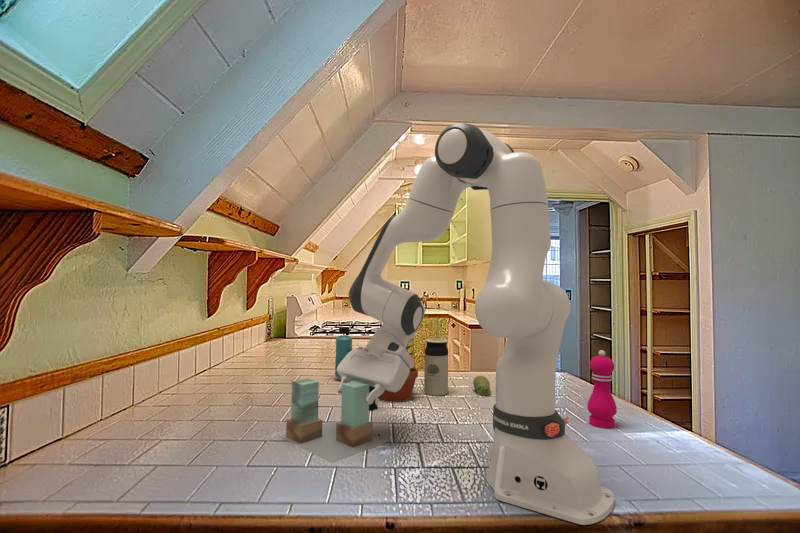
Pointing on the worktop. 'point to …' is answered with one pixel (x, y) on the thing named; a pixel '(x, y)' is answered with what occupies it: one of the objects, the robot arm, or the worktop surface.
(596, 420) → the pepper mill
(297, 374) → the worktop surface
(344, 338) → the beverage bottle
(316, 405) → the tower
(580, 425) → the worktop surface
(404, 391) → the potted plant
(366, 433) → the base block
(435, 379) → the travel mug
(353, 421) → the pillar
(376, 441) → the board
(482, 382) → the pear
